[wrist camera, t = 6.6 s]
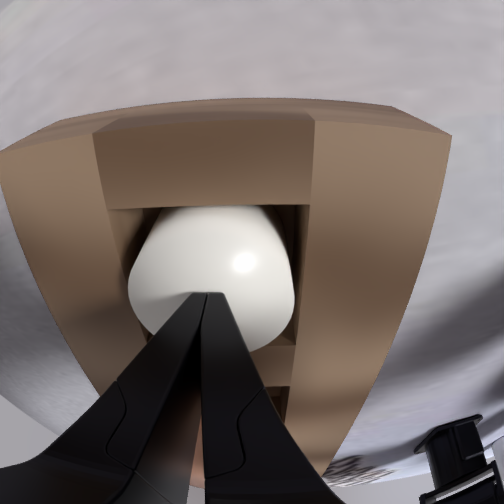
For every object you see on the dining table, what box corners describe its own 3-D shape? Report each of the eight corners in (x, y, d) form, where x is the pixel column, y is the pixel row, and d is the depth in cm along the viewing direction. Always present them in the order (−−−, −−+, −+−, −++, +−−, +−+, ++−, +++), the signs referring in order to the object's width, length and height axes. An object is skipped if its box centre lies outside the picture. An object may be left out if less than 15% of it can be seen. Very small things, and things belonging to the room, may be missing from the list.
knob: (282, 292, 12) (289, 356, 10) (166, 293, 12) (148, 353, 10) (287, 180, 10) (300, 230, 7) (145, 184, 10) (109, 233, 7)
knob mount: (315, 435, 23) (320, 478, 20) (169, 434, 23) (163, 476, 20) (391, 106, 10) (452, 135, 6) (60, 120, 10) (-7, 155, 6)
